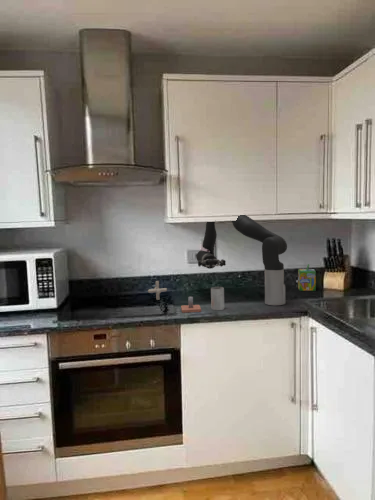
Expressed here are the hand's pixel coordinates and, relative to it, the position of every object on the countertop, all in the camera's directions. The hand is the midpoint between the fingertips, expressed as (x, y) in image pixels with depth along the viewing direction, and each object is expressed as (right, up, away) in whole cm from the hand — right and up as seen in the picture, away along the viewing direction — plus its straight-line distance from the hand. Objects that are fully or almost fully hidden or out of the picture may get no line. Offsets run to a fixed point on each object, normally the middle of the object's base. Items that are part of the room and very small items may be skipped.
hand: (213, 264), depth 189 cm
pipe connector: (-29, -20, +15) cm, 38 cm away
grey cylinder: (+2, -21, -9) cm, 23 cm away
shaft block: (-11, -21, -10) cm, 26 cm away
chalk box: (+56, -16, +27) cm, 64 cm away
